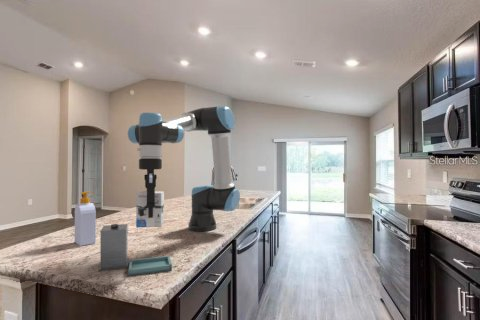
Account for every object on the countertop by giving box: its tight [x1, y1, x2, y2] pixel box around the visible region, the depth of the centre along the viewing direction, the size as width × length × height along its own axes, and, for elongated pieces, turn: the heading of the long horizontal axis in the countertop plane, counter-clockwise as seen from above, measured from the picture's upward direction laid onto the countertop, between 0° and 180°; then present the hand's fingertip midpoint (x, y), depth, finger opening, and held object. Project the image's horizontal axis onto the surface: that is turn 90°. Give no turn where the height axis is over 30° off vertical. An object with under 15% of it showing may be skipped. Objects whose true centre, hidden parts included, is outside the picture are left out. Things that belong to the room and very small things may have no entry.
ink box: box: [135, 190, 165, 228], centre depth 95 cm, size 8×5×12 cm, turn 95°
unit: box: [98, 223, 130, 272], centre depth 98 cm, size 9×9×14 cm
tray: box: [128, 255, 173, 277], centre depth 95 cm, size 14×10×2 cm
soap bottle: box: [74, 191, 97, 247], centre depth 124 cm, size 9×7×23 cm
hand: (150, 224), depth 95 cm, fingers closed on ink box, 6 cm apart
